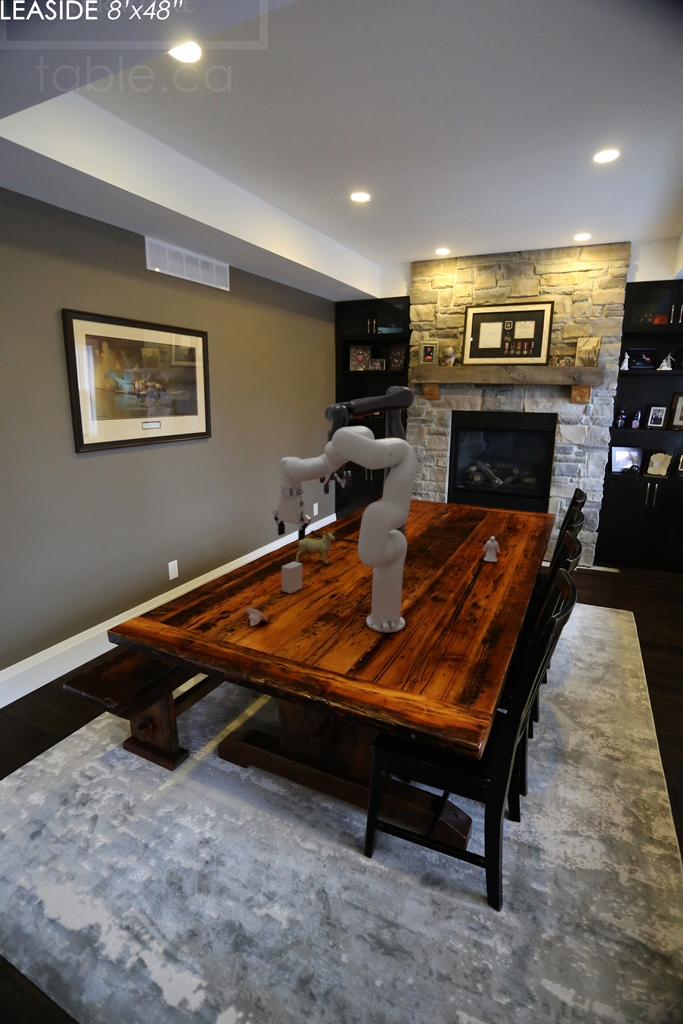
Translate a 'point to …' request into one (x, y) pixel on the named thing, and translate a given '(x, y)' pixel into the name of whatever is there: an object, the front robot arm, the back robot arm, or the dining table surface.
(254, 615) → the seashell
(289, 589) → the brick
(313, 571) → the dining table surface
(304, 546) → the toy
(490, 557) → the figurine
